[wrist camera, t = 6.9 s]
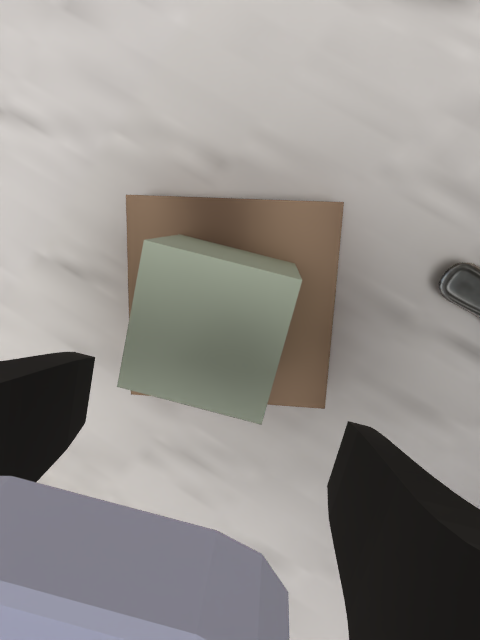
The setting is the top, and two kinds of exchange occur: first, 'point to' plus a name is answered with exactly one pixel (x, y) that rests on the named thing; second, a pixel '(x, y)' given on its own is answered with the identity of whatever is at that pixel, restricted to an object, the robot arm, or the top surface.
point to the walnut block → (268, 240)
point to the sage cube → (208, 325)
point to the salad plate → (462, 286)
